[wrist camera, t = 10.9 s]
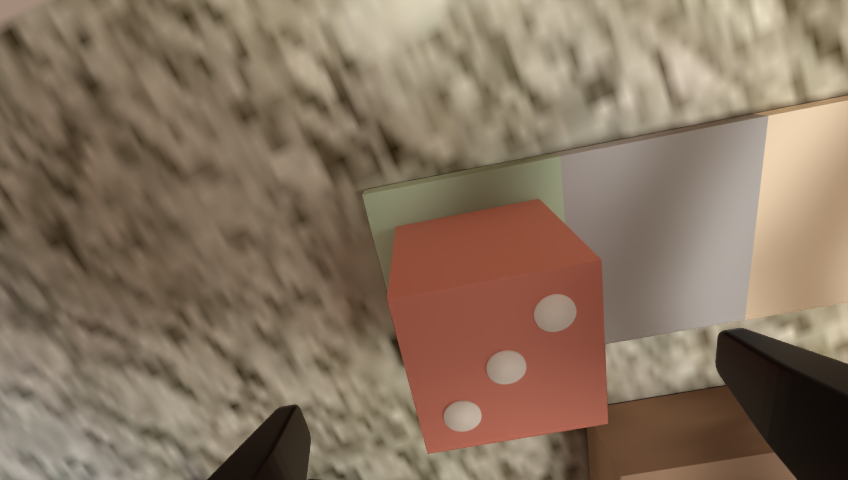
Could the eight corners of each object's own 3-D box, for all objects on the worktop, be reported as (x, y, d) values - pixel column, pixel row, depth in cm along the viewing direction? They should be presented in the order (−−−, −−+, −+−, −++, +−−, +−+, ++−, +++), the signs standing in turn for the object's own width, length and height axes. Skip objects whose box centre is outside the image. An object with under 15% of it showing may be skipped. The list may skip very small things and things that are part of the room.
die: (539, 198, 13) (602, 261, 8) (551, 321, 14) (609, 425, 10) (395, 226, 13) (386, 301, 9) (423, 344, 14) (427, 456, 10)
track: (960, 73, 12) (987, 73, 12) (904, 281, 15) (923, 289, 14) (363, 189, 13) (361, 195, 12) (409, 366, 16) (408, 377, 15)
